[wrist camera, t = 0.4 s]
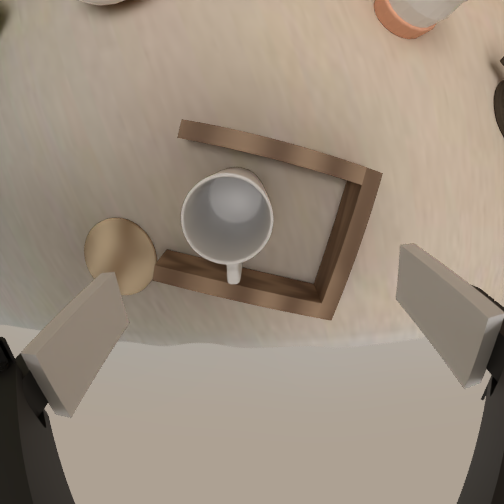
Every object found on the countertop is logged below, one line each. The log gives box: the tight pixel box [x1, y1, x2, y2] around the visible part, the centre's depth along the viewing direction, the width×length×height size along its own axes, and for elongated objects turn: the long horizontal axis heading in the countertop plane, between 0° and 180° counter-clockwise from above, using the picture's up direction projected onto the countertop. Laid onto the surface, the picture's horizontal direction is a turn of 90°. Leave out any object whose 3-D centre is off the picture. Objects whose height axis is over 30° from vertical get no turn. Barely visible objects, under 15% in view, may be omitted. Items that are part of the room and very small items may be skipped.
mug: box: [181, 167, 273, 284], centre depth 28 cm, size 10×7×12 cm, turn 3°
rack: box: [153, 119, 383, 320], centre depth 32 cm, size 20×17×5 cm
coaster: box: [84, 218, 157, 295], centre depth 36 cm, size 10×10×1 cm
